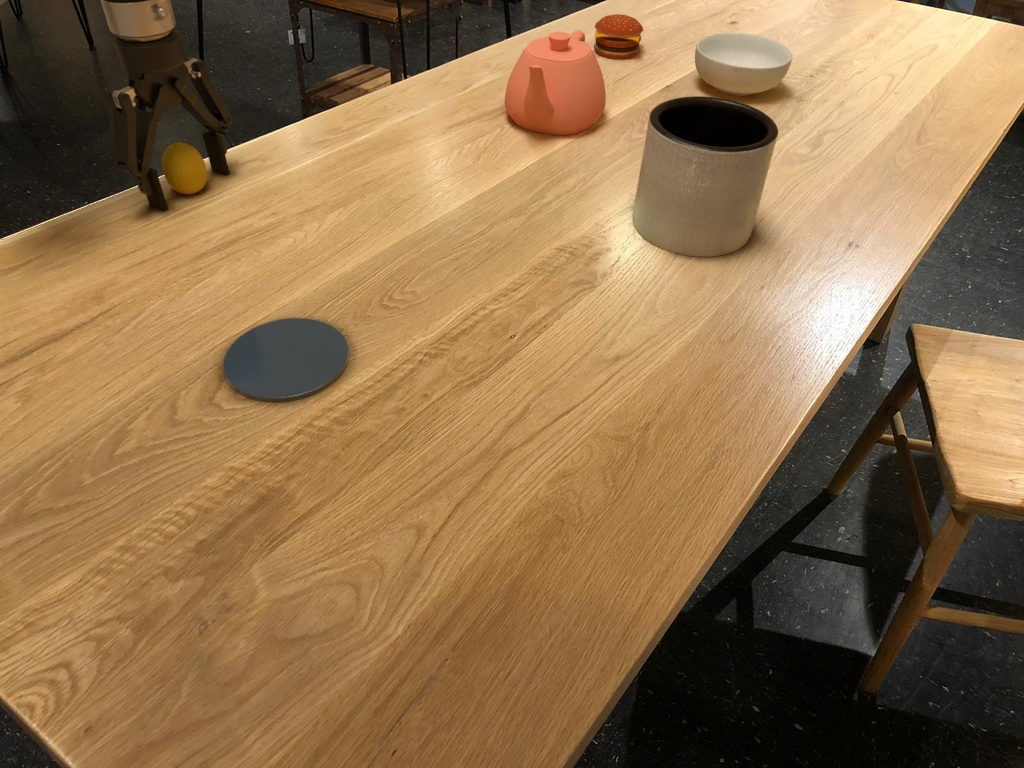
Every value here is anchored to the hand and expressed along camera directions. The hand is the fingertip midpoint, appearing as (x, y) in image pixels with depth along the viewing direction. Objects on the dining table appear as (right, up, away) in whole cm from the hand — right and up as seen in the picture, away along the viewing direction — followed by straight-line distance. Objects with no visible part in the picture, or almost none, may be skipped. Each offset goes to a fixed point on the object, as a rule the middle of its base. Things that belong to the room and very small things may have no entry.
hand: (192, 194), depth 108 cm
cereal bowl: (+86, +28, +34) cm, 97 cm away
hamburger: (+66, +40, +46) cm, 90 cm away
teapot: (+52, +18, +22) cm, 59 cm away
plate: (+21, -25, -25) cm, 41 cm away
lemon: (0, 0, 0) cm, 0 cm away
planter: (+69, -6, -3) cm, 70 cm away
